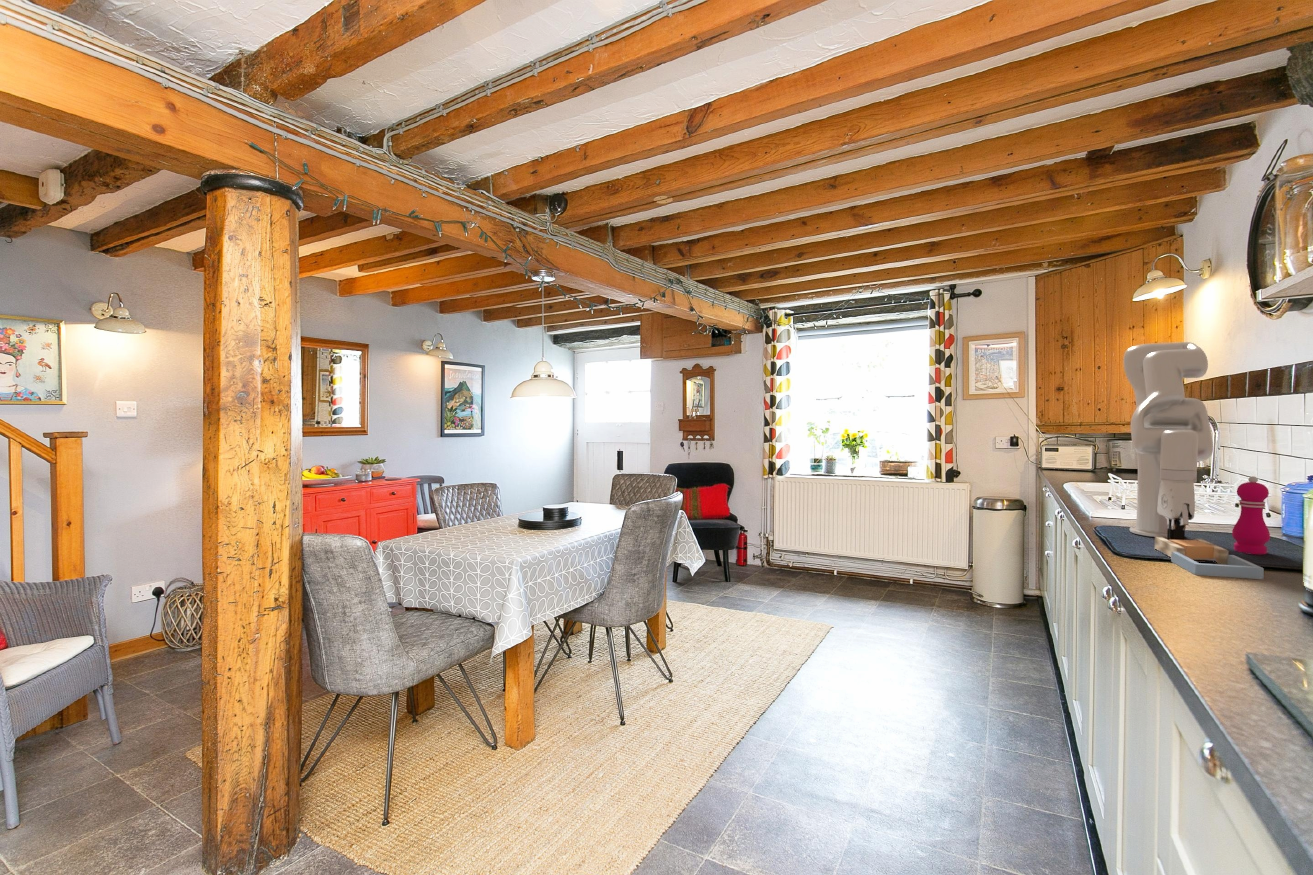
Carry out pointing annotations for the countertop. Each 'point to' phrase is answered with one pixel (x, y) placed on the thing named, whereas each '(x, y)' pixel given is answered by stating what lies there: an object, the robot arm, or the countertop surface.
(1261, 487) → the pepper mill
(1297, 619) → the countertop surface
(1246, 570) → the bay
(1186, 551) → the block
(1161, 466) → the robot arm
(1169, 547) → the pair of wooden slats
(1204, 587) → the countertop surface
